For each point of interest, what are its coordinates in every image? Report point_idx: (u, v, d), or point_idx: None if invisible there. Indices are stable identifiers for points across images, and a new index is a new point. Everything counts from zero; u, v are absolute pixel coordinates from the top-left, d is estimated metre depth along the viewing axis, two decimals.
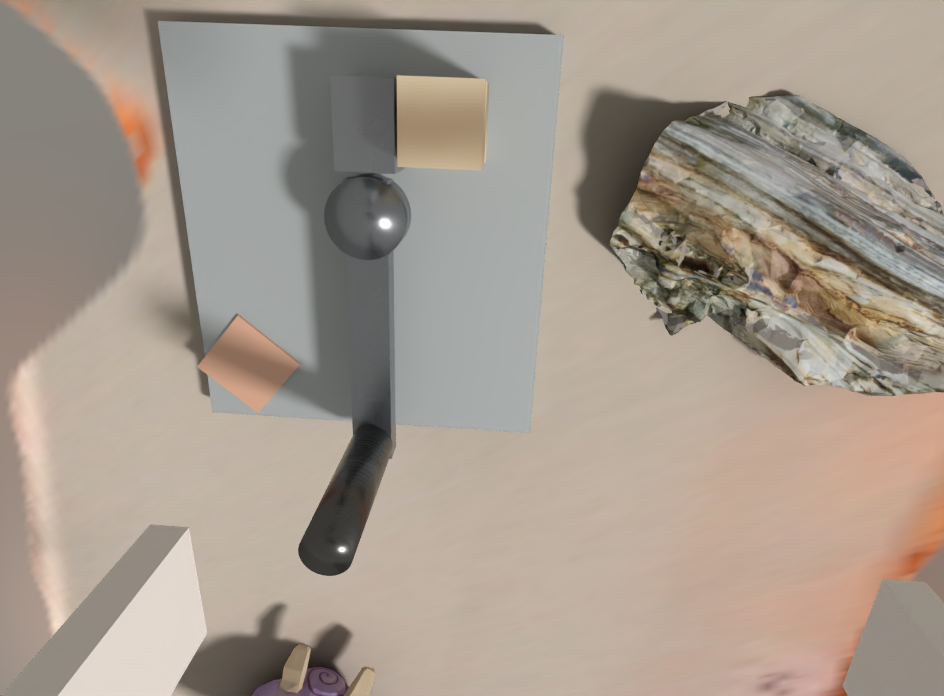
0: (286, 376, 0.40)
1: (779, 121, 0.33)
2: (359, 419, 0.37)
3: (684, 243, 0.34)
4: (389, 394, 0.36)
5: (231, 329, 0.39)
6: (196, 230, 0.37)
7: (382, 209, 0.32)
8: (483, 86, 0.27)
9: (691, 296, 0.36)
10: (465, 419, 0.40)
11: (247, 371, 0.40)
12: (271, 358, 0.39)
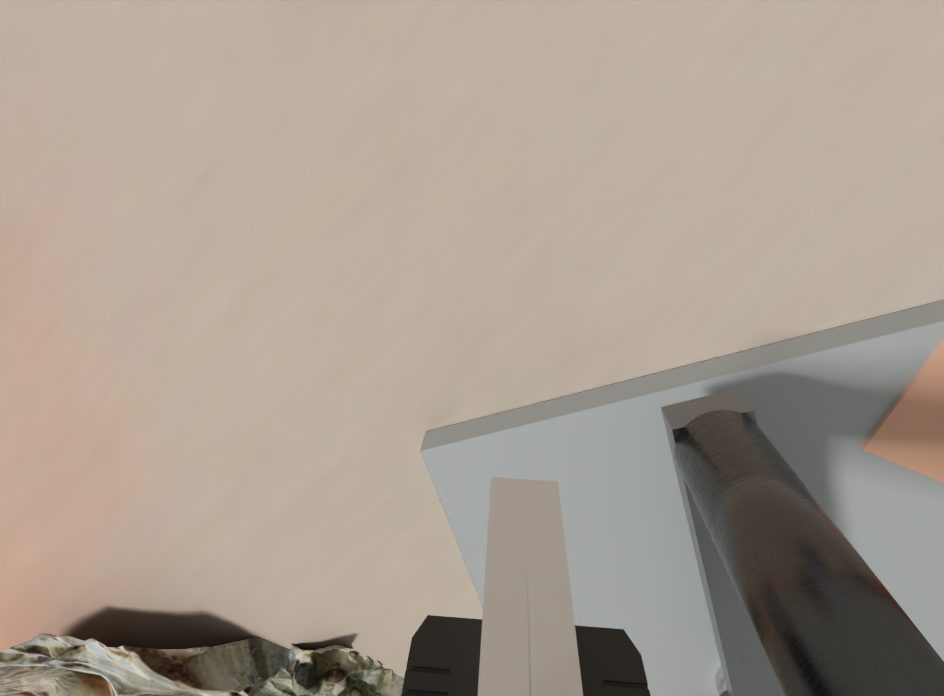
0: (891, 421, 0.21)
1: None
2: None
3: None
4: (701, 548, 0.19)
5: None
6: None
7: None
8: None
9: None
10: (536, 439, 0.22)
11: None
12: (920, 445, 0.21)
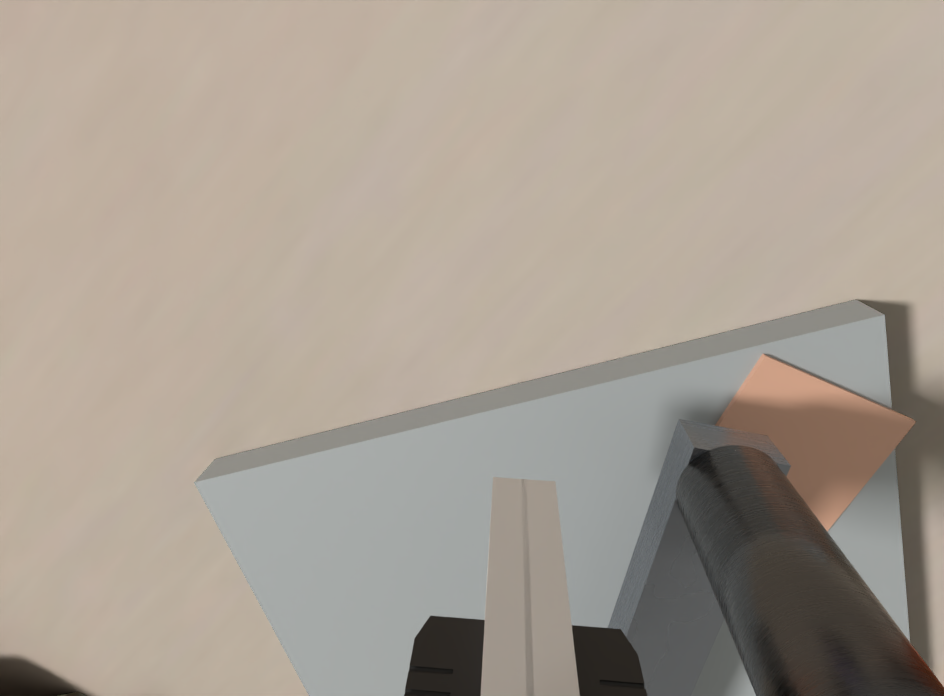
0: None
1: None
2: None
3: None
4: (645, 590, 0.16)
5: (828, 518, 0.19)
6: None
7: None
8: None
9: None
10: (319, 472, 0.20)
11: (791, 444, 0.18)
12: None
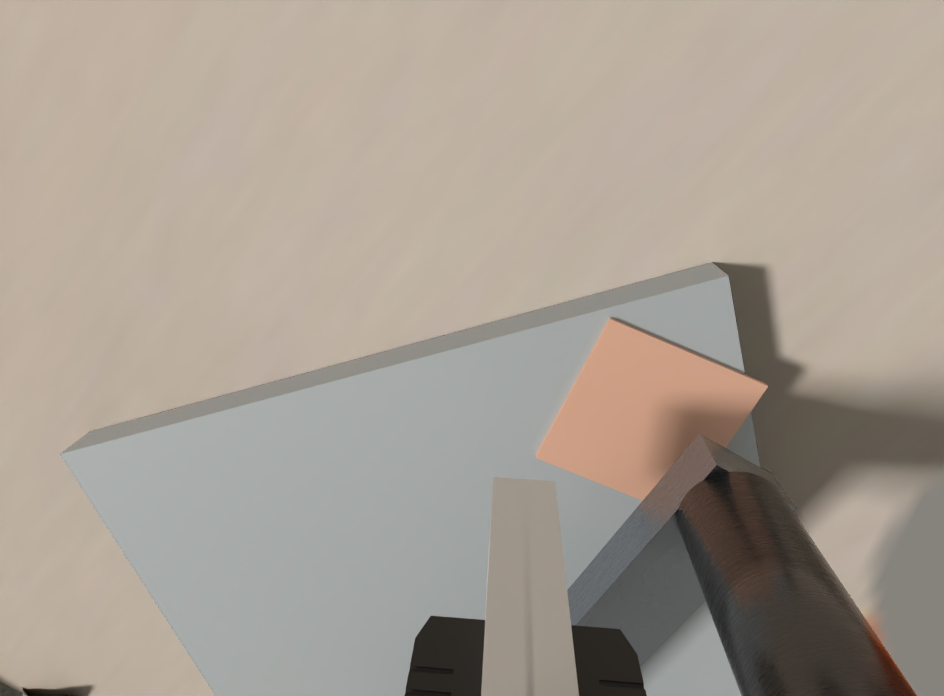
0: (559, 426, 0.18)
1: None
2: None
3: None
4: (611, 587, 0.16)
5: None
6: None
7: None
8: None
9: None
10: (181, 443, 0.20)
11: (646, 411, 0.18)
12: (597, 453, 0.18)
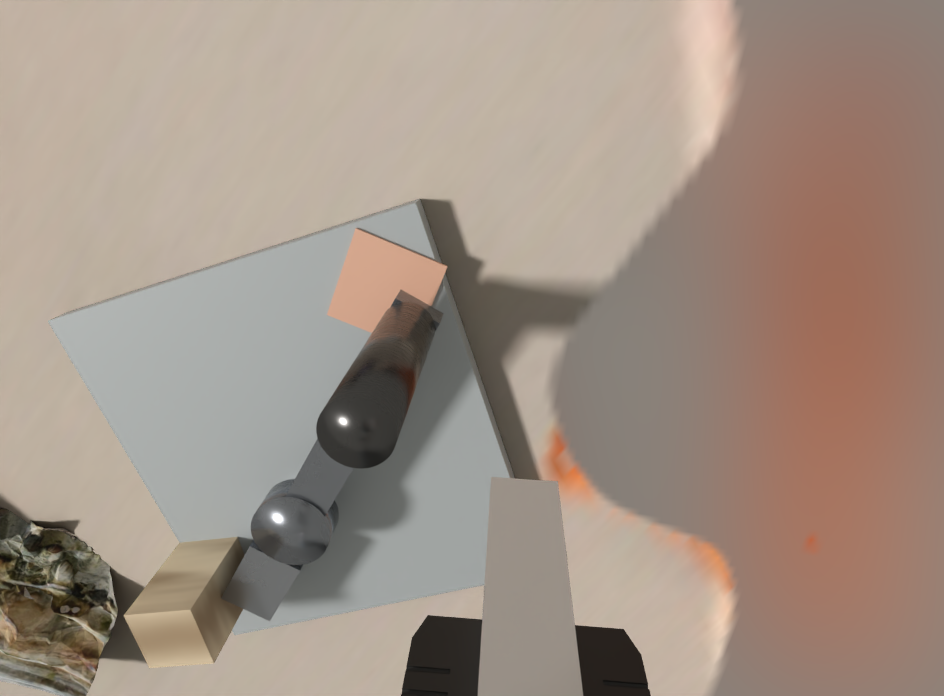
0: (337, 294, 0.31)
1: None
2: None
3: None
4: None
5: None
6: (479, 422, 0.34)
7: (269, 532, 0.33)
8: (149, 662, 0.34)
9: (39, 560, 0.40)
10: (121, 311, 0.33)
11: (383, 283, 0.31)
12: (361, 311, 0.32)
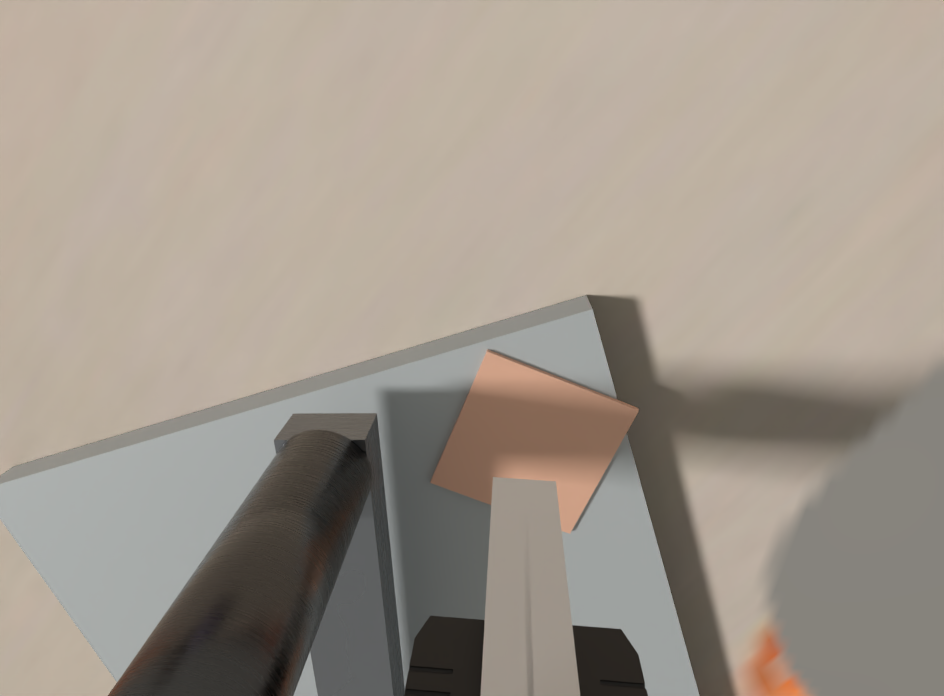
0: (449, 452, 0.19)
1: None
2: (358, 525, 0.16)
3: None
4: None
5: (576, 506, 0.19)
6: (664, 633, 0.21)
7: None
8: None
9: None
10: (95, 476, 0.20)
11: (528, 436, 0.19)
12: (487, 477, 0.19)
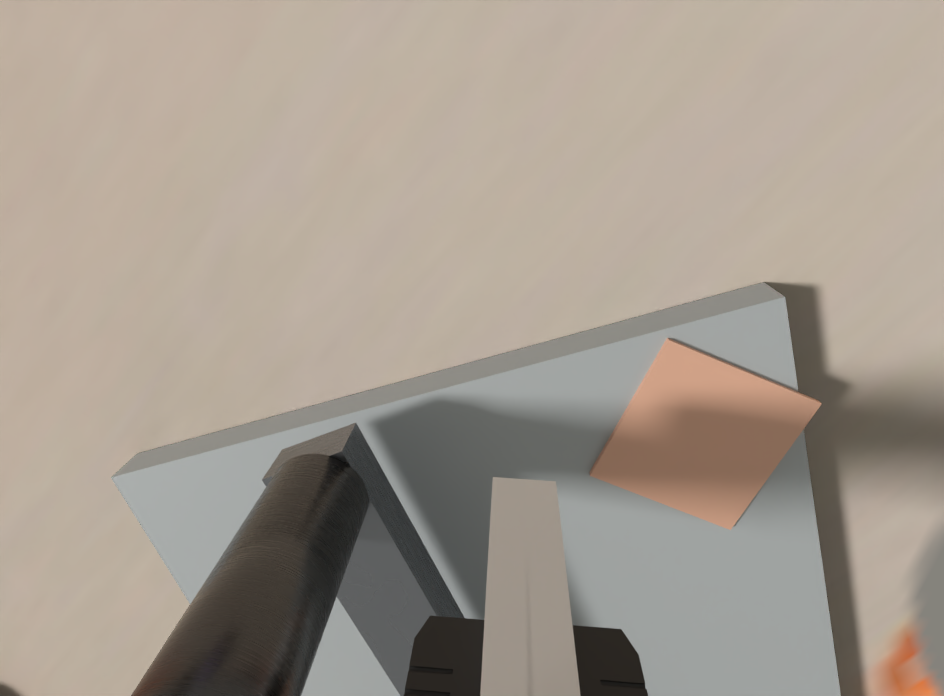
0: (615, 444, 0.18)
1: None
2: (373, 536, 0.16)
3: None
4: (343, 604, 0.17)
5: (741, 501, 0.19)
6: (813, 632, 0.21)
7: None
8: None
9: None
10: (235, 465, 0.20)
11: (700, 428, 0.18)
12: (651, 470, 0.19)
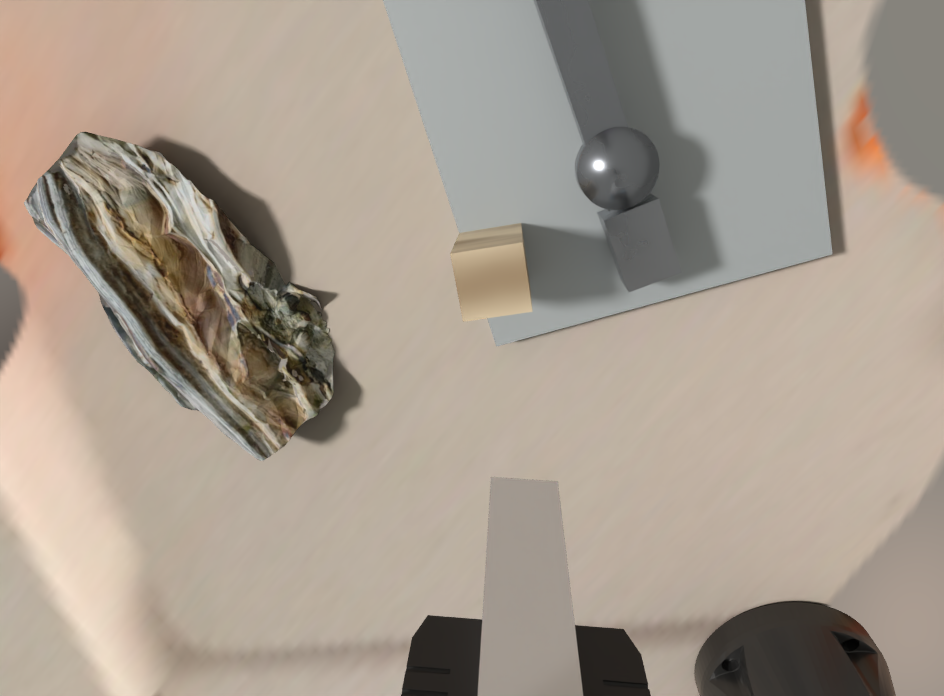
0: None
1: None
2: None
3: (278, 369, 0.42)
4: None
5: None
6: (800, 67, 0.34)
7: (604, 186, 0.33)
8: (462, 315, 0.34)
9: (288, 320, 0.41)
10: None
11: None
12: None
